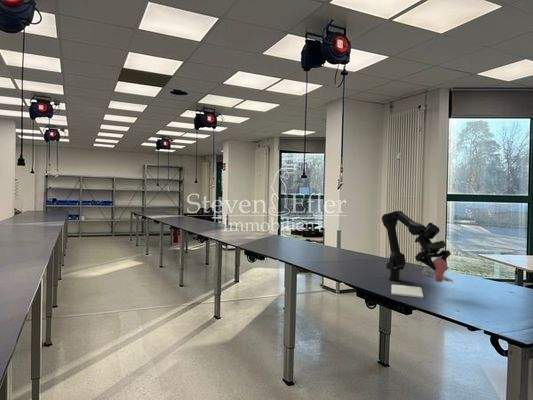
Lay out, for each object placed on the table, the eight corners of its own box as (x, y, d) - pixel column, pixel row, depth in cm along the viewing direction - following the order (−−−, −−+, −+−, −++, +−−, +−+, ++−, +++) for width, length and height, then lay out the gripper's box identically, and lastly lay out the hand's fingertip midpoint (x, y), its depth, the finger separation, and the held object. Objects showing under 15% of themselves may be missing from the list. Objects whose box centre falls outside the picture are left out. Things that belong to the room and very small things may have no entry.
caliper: (423, 275, 246) (423, 265, 246) (424, 275, 247) (424, 265, 247) (452, 282, 229) (453, 271, 228) (453, 282, 229) (454, 271, 229)
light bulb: (433, 279, 203) (434, 256, 203) (447, 282, 199) (449, 258, 198) (428, 282, 198) (430, 258, 197) (443, 284, 193) (445, 260, 193)
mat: (391, 285, 215) (391, 284, 215) (420, 288, 210) (421, 287, 210) (391, 294, 197) (391, 292, 197) (423, 297, 192) (423, 296, 192)
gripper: (420, 235, 198) (435, 261, 188) (449, 234, 204) (465, 260, 194) (408, 248, 206) (422, 273, 196) (437, 247, 212) (452, 272, 202)
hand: (441, 269), depth 197 cm, fingers closed on light bulb, 7 cm apart
